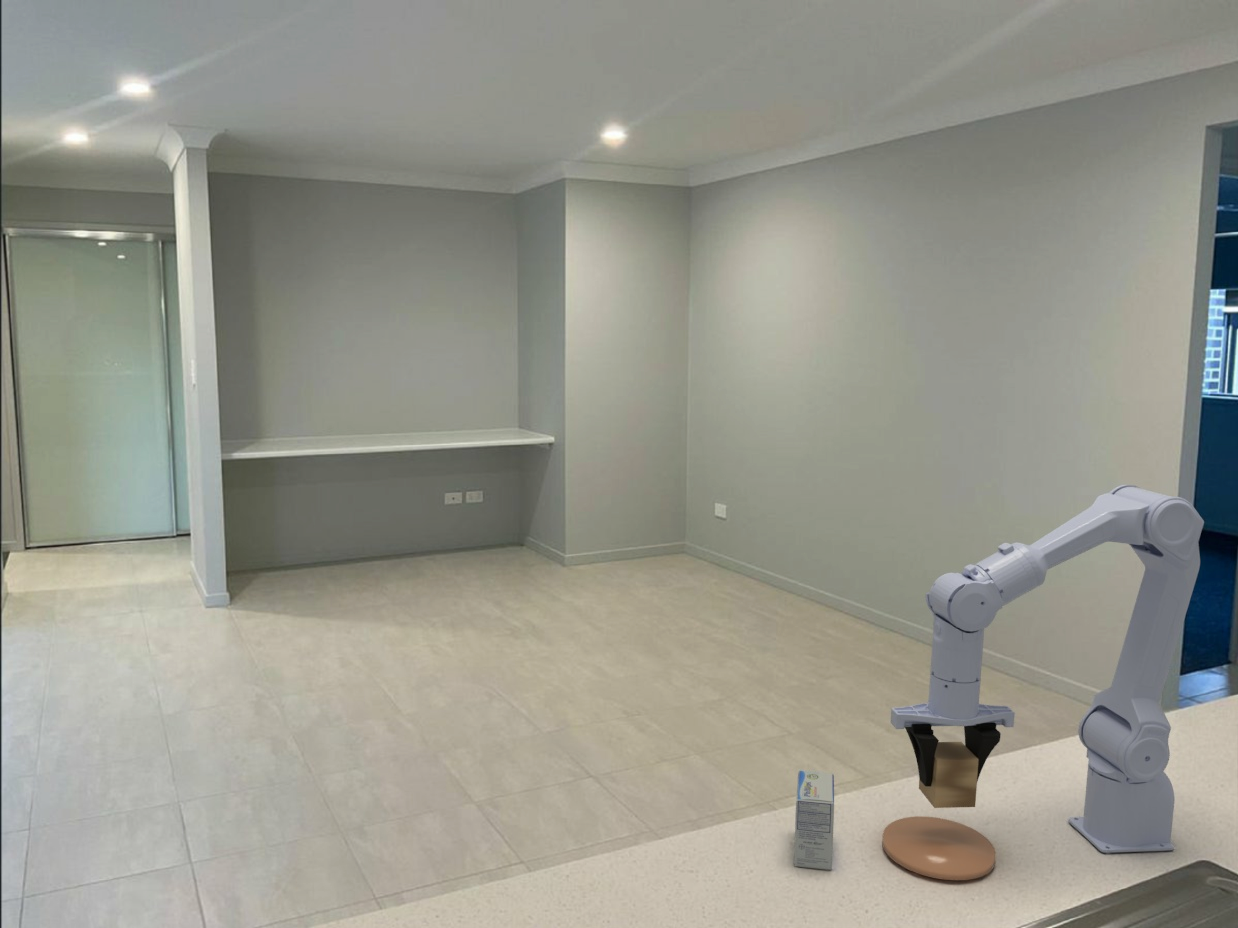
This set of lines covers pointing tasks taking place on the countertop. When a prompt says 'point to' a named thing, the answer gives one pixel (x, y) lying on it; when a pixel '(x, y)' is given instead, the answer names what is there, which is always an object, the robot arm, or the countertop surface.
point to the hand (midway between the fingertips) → (947, 782)
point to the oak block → (952, 777)
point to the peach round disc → (939, 848)
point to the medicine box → (814, 820)
